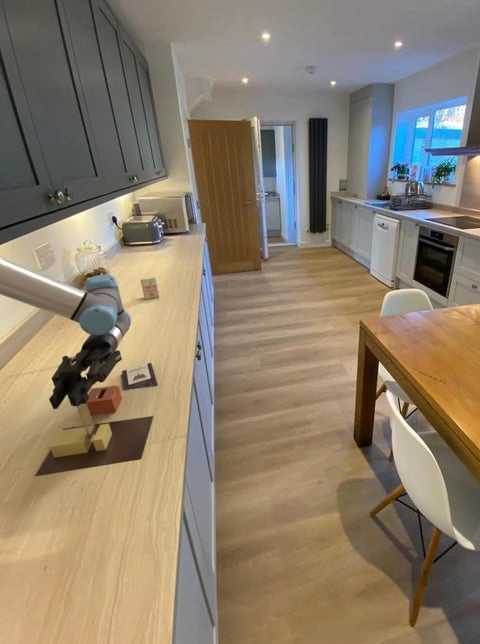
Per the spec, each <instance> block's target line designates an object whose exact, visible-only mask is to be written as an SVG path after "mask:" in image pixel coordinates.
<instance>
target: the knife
mask: <svg viewBox="0 0 480 644" xmlns="http://www.w3.org/2000/svg"><path fill="white" fill-rule="evenodd" d="M59 375H60V378H61V380H62V383H63V385H64V388H65V390H66V393H67V395H66V397H67V398H68V401H69V403H70V406H73V405H72V402H71V400H70V397H69V396H70V394H71V393H72V391H73V390H74V388H75V387H76V385H77V384H78V383H79V381H80V379H81V378H82V377H83V376H82V373H80V370H79V368H78V366H69V367H63V368H62V369H61V370H60V371H59ZM88 394H89V392H88V393H85V394H84V396H83V397H82V399H81V400H80V402H79V404H78V405H77V406H76V409H77V411H78V413H79V416H80V419H81V421H82V424H83V426H84V427H85V429H86V432H87V435H88V437H89V439H91V438H92V436H93V434H94V432H95V430H96V428H95V425H94V424H95V422H94V420H93V417H92V416H91V414H90V412H89V409H88V406H87V401H88V399H89V396H88Z"/></svg>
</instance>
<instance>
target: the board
mask: <svg viewBox="0 0 480 644" xmlns="http://www.w3.org/2000/svg"><path fill="white" fill-rule="evenodd" d="M153 420H154V415H151V416H149V415H148V416H142V417H135V418H127V419H121V420H113V421H107V422H100V423H94V425H95V428H96V430H95V432H94V436H95V434H96V432H97V430H98V428H99V426H100V425H102V424H109V426H110V429H111V432H112V435H111V438H110V440H109V443H108V445H107V448H106V450H101V451H96V448H95V446H94V443H93V441H92V443H91V446H90V448H89V450H88V452H87V453H81V454H75V455H68V456H62V457H55V458H54V456H53V454H52V451H51V449H49V451H48V453H47V455H46V456H45V458H44V459H43V461H42V463H41V465H40V466H39V468H38V469H37V471H36V473H35V474H34V478H35V477H41V476H48V475H53V474H59V473H67V472H71V471H78V470H83V469H89V468H96V467H101V466H108V465H114V464H120V463H126V462H133V461H140V460H142V459H143V455H144V451H145V448H146V444H147V441H148V437H149V434H150V431H151V427H152V423H153ZM81 427H84V425H78V426H72V427H65V428H62V430H67V429H74V428H81Z"/></svg>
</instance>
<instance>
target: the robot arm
mask: <svg viewBox="0 0 480 644" xmlns="http://www.w3.org/2000/svg"><path fill="white" fill-rule="evenodd" d="M84 284H85V288H86V289H85V291H84V290H82V289H80V288H77V287H76V286H73V285H71V284H68V283H65V282H64V281H61V280H59V279H56V278H54V277H51V276H49V275H47V274H44V273H41V272H39V271H37V270H35V269H32V268H29V267H27V266H26V265H25V266H24V265H22V264H20V263H17V262H16V261H13V260H10V259H7V258H6V257H3V256H0V296H4V297H7V298H9V299H12V300H15V301H17V302H20V303H23V304H25V305H28V306H32V307H35V308H37V309H39V310H43V311H46V312H48V313H51V314H54V315H57V316H60V317H63V318H65V319H67V320H70V321H73V322H75V323H78V324H79V326H80V328H81V330H82V331H84V333H86V334H88V337H87V338H86V339H85V341H84V342H83V343H82V346H81V348H80V351H78V352H77V353H76V354H75V355H74V356H71V357H70V356H68V355H64V356H62V358H61V362H60V364H59V366H58V367H57V369H56V370H55V372H54V373H53V375H52V377H51V382H52V384H53V386H54V388H53V389H52V394H51V396H50V397H49V398H48V400H49V402H50V405H51V407H52V410H57V409H59V407H60V406H61V404H62V402H63V401H64V400H65V399H66V397H67V393H66V390H65V388H64V385H63V383H62V380H61V378H60V375H59V371H60V370H61V369H62V368H63V367H69V366H78V368H79V370H80V373H81V374H82V373H83V372H86V371H87V370H88V371H87V372H86V373H85V376H82V378H81V379H80V381H79V383H78V384H77V385H76V387H75V388H74V390H73V391H72V393H71V394H70V396H69V397H70V400H71V402H72V405H71V406H72V407H77V405H78V404H79V402H80V400H81V399H82V397H83V396H84V394H85V393H88V394H89V392H90V391H91V389H92V388H93V386H94V385H95V384H97V383H104V382H105V381H106V380H107V379H108V377H109V376H110V374H111V373H112V371H113V370H114V368H115V367H116V365H117V364H118V363H120V362H121V361H122V360H123V357H122V354H121V350H120V349H119V350H117V349H118V347H119V346H120V344H121V342H122V340H123V338H124V337H125V335H126V334H127V333H128V331H129V330H130V328H131V324H132V317H131V315H130V314H129V312H128V311H127V310H125V309H124V308H125V307H124V306H123V302H122V297H121V292H120V289H119V285H118V282H117V279H116V277H115V276H114V275H111V274H98V275H94V276H90V277H88V278H87V279H86V280H85V283H84Z"/></svg>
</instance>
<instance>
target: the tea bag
mask: <svg viewBox="0 0 480 644" xmlns="http://www.w3.org/2000/svg"><path fill="white" fill-rule="evenodd" d="M140 282H141V284H140V285H141V289H142V292H143V298H144V301H146V300H151V299H152V300H153V299H157V298H160V294H159V293H160V292H159V288H158V283H157V279H156V277H151V278H143V279H140Z"/></svg>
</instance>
